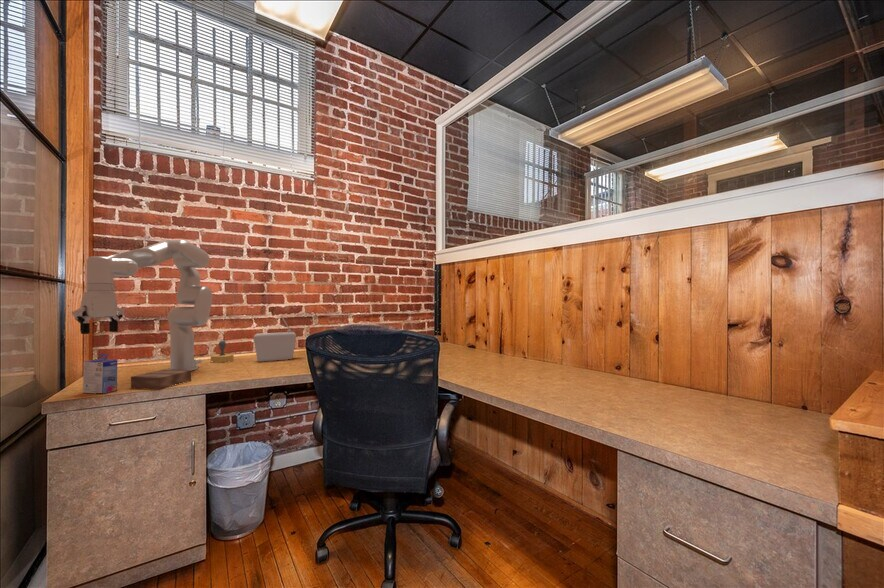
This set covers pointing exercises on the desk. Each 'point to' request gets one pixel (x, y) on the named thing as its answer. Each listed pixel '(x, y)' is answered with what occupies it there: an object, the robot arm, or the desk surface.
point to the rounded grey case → (275, 345)
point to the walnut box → (160, 379)
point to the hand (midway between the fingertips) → (99, 332)
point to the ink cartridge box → (100, 375)
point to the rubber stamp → (222, 354)
